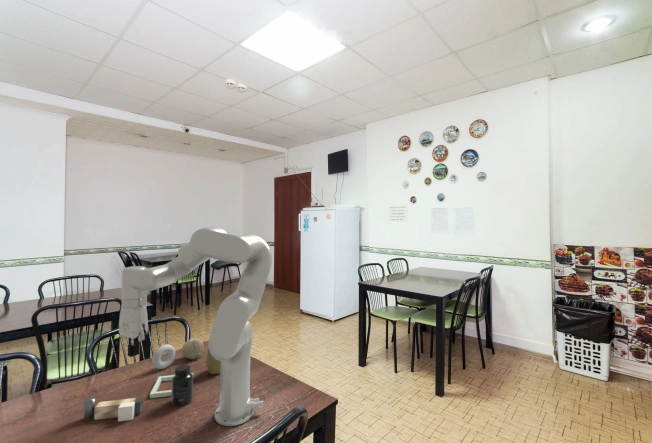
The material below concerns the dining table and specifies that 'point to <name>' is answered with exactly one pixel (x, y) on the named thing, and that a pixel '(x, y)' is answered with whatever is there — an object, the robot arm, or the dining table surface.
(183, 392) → the supplement bottle
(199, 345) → the garlic bulb
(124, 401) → the leg
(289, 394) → the dining table surface
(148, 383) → the dining table surface
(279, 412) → the dining table surface
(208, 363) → the squeeze bottle
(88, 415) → the pivot post
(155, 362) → the donut
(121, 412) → the block
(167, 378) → the seat frame
